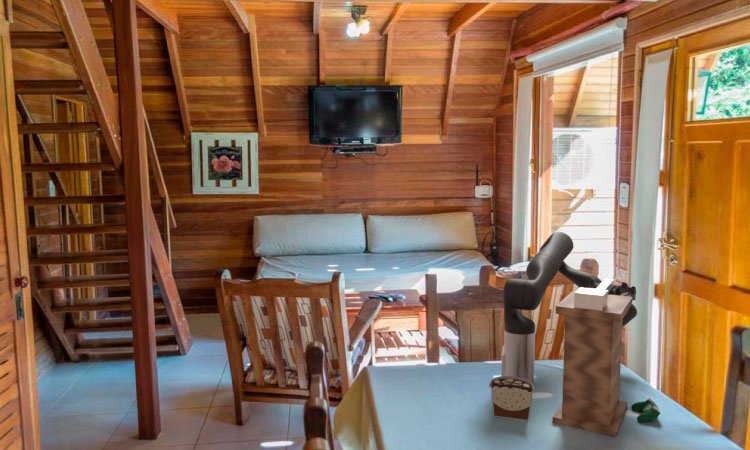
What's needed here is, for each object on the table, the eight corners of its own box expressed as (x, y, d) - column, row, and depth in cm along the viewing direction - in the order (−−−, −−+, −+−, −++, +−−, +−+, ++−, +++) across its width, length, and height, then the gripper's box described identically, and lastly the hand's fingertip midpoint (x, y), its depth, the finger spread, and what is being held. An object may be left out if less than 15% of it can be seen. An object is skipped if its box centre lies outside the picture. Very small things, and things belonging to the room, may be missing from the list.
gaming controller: (646, 430, 163) (664, 416, 161) (636, 419, 163) (654, 405, 161) (638, 415, 172) (655, 402, 170) (629, 405, 172) (646, 392, 170)
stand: (552, 422, 163) (555, 306, 159) (569, 396, 180) (573, 290, 176) (615, 436, 155) (621, 314, 151) (627, 407, 172) (632, 297, 168)
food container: (536, 412, 169) (536, 378, 168) (534, 421, 164) (535, 386, 162) (491, 406, 173) (491, 373, 172) (488, 415, 168) (488, 380, 166)
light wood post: (573, 307, 157) (574, 292, 157) (597, 284, 184) (597, 271, 184) (602, 311, 154) (602, 295, 153) (621, 286, 181) (622, 273, 180)
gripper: (592, 286, 197) (584, 268, 184) (640, 291, 190) (635, 273, 177) (589, 308, 195) (580, 292, 182) (637, 314, 188) (632, 297, 175)
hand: (607, 283), depth 180 cm, fingers open, 8 cm apart
